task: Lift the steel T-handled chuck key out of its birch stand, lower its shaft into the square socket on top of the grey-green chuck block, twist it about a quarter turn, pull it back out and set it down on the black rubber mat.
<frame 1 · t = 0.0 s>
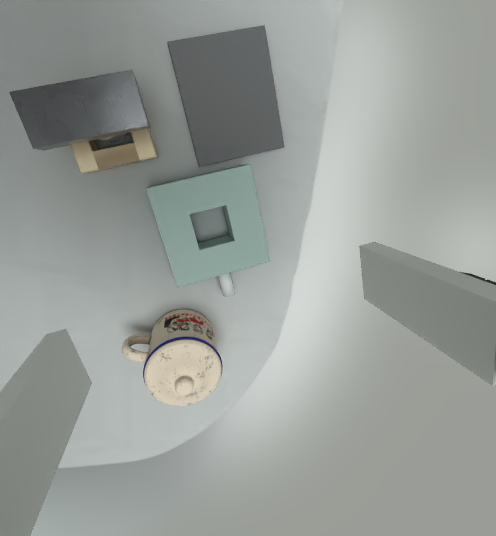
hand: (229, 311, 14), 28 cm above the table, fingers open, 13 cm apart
chuck block: (209, 222, 40), on the table
teacup with lid: (172, 333, 44), on the table
mat: (230, 99, 36), on the table
chuck key: (111, 128, 35), resting in key stand
key stand: (111, 128, 35), on the table
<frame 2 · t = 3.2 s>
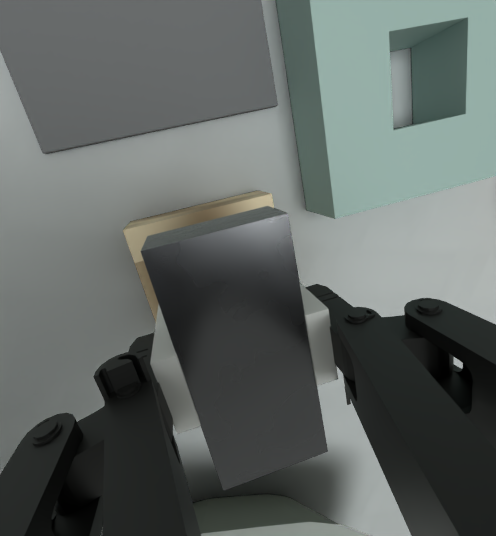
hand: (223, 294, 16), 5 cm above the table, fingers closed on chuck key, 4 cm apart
chuck block: (381, 93, 19), on the table
mat: (134, 12, 16), on the table
chuck key: (212, 265, 20), resting in key stand, touching gripper
key stand: (212, 265, 20), on the table
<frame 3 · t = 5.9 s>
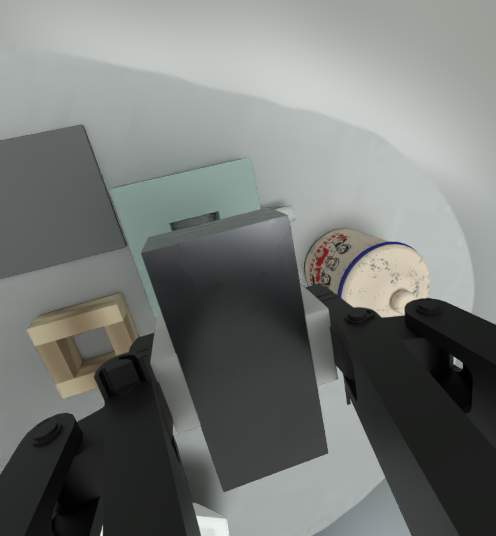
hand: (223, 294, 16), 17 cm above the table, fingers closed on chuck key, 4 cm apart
bowl: (131, 514, 41), on the table
chuck block: (197, 232, 31), on the table
teacup with lid: (332, 275, 37), on the table
mat: (32, 206, 27), on the table
chuck key: (213, 265, 20), point 12 cm above the table, touching gripper
key stand: (96, 337, 32), on the table
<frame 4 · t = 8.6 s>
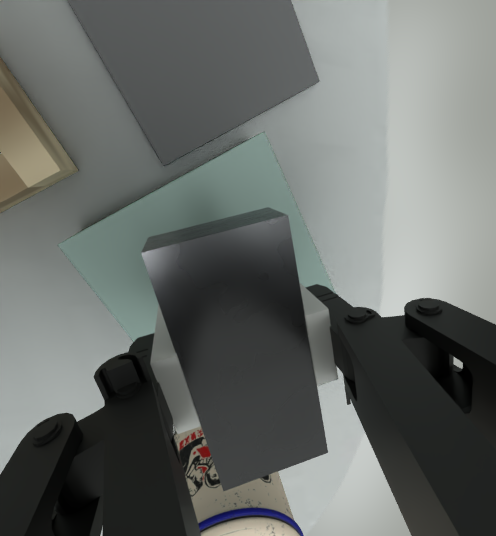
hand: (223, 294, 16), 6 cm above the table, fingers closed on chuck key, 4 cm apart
chuck block: (212, 263, 22), on the table
teacup with lid: (200, 450, 26), on the table
mat: (187, 8, 17), on the table
chuck key: (213, 265, 20), point 1 cm above the table, touching gripper
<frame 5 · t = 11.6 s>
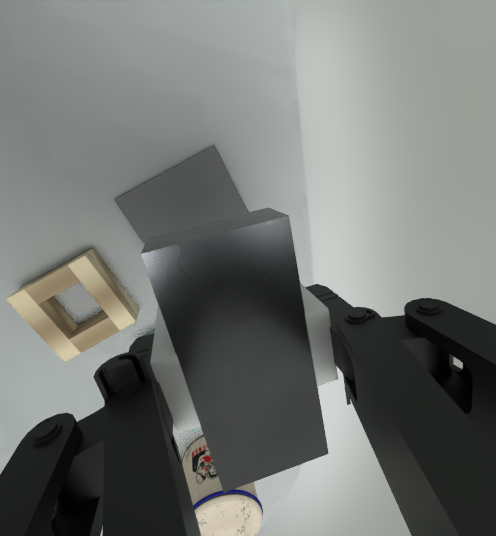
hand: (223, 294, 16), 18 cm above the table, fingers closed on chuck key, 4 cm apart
teacup with lid: (203, 456, 42), on the table
mat: (198, 229, 33), on the table
chuck key: (213, 266, 20), point 13 cm above the table, touching gripper
key stand: (83, 298, 32), on the table
when the fingers open (7 cm above the table, at t = 14.3 s): chuck key stays where it is, resting on mat.
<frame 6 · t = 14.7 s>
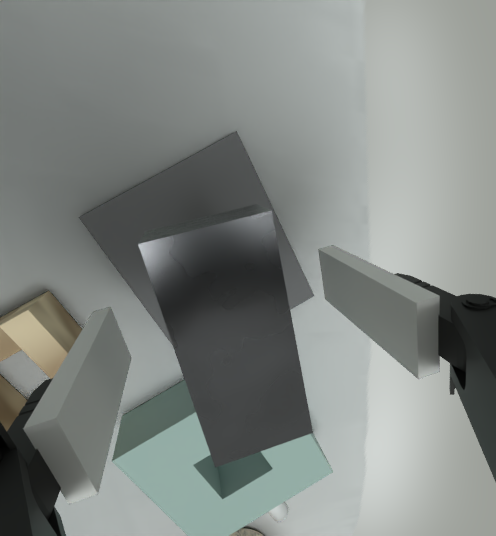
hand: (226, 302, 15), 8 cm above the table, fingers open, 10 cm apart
chuck block: (226, 425, 26), on the table
mat: (210, 259, 22), on the table
chuck key: (209, 261, 21), point 1 cm above the table, touching mat
key stand: (36, 365, 21), on the table
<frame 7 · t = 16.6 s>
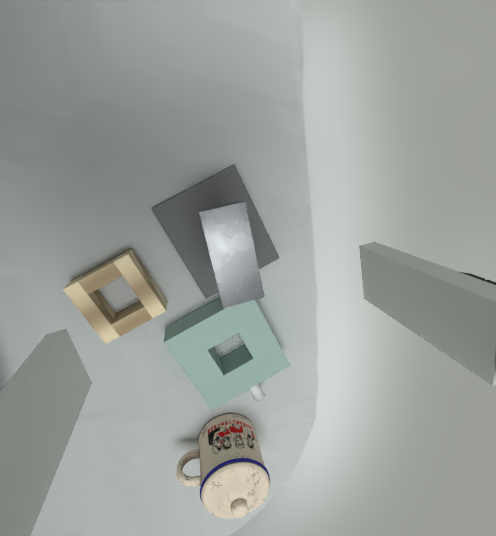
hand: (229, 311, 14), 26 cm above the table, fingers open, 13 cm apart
chuck block: (226, 339, 43), on the table
teacup with lid: (217, 435, 47), on the table
mat: (219, 234, 39), on the table
chuck key: (218, 235, 38), point 1 cm above the table, touching mat
key stand: (121, 291, 38), on the table
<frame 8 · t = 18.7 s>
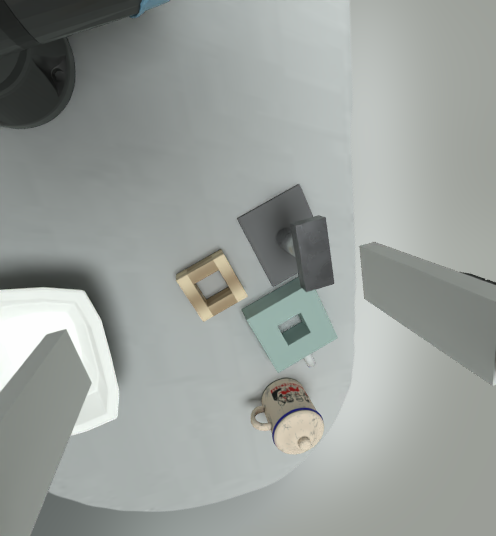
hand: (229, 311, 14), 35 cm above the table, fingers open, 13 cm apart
bowl: (46, 339, 47), on the table
chuck block: (286, 318, 55), on the table
teacup with lid: (275, 396, 60), on the table
mat: (284, 237, 50), on the table
chuck key: (285, 238, 50), point 1 cm above the table, touching mat
key stand: (211, 282, 50), on the table
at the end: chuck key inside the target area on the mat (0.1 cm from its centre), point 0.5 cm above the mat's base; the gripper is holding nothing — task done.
